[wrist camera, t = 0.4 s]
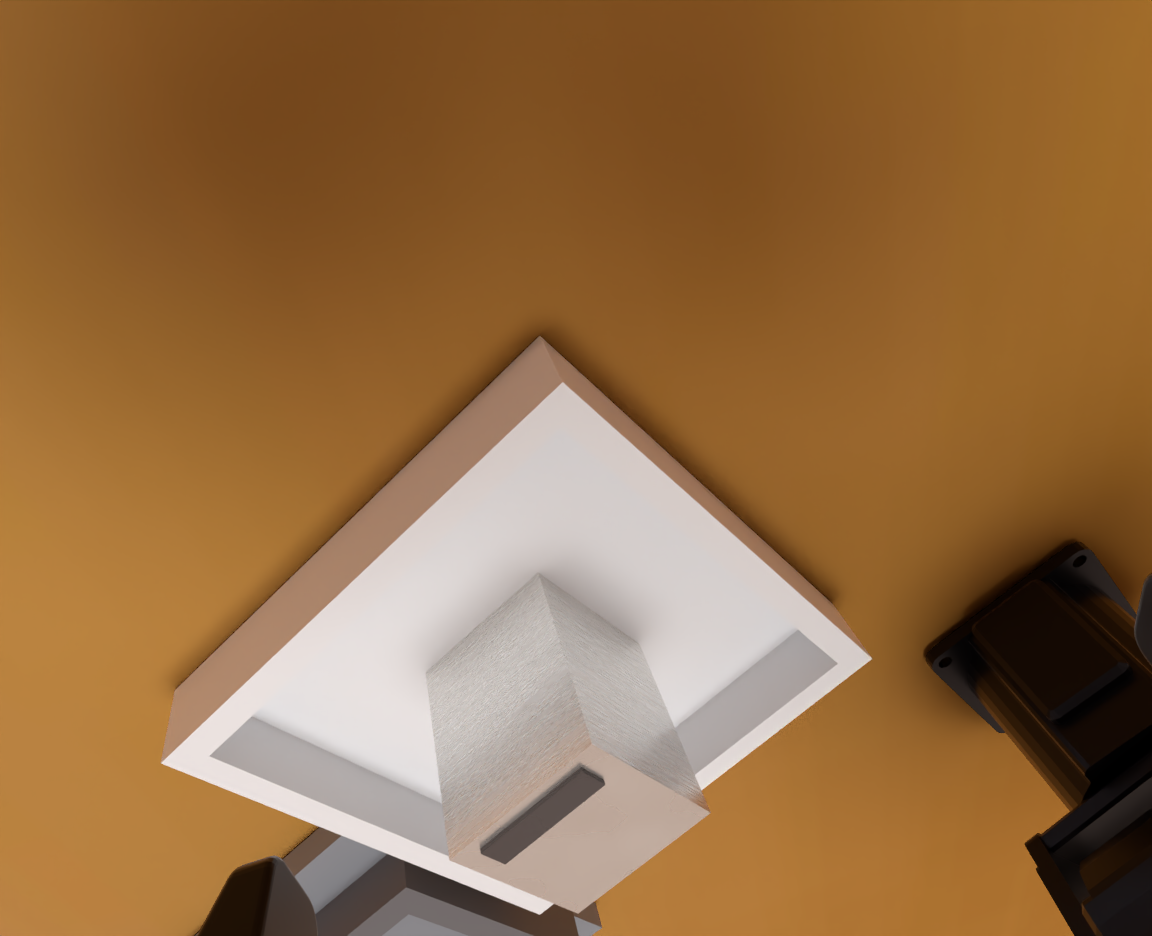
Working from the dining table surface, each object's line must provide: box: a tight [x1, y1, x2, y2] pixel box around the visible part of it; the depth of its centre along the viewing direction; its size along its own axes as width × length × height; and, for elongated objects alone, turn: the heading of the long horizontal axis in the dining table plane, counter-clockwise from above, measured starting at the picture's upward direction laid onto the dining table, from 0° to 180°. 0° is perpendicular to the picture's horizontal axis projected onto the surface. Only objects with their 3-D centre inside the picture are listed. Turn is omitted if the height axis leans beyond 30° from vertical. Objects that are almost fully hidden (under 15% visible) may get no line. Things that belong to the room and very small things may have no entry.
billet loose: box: [425, 573, 711, 913], centre depth 23 cm, size 4×4×6 cm
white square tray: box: [161, 336, 872, 915], centre depth 25 cm, size 14×14×2 cm
